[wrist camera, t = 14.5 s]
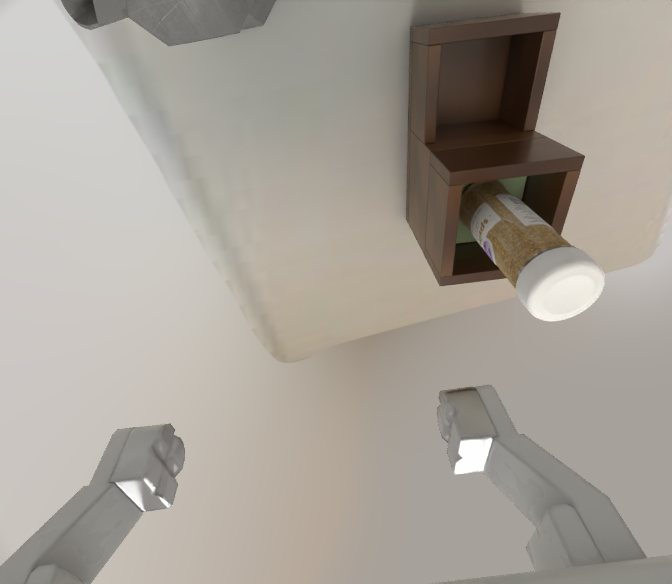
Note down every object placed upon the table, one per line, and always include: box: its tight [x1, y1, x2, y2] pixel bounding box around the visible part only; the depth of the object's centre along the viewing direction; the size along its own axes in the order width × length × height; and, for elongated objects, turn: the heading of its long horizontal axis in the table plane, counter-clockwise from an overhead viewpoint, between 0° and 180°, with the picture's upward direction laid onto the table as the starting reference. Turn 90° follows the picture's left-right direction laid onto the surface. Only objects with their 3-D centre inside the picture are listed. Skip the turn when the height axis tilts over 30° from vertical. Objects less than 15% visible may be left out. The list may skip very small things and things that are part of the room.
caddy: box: [406, 13, 585, 286], centre depth 31 cm, size 18×10×13 cm, turn 6°
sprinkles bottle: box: [459, 180, 605, 321], centre depth 27 cm, size 5×5×14 cm
